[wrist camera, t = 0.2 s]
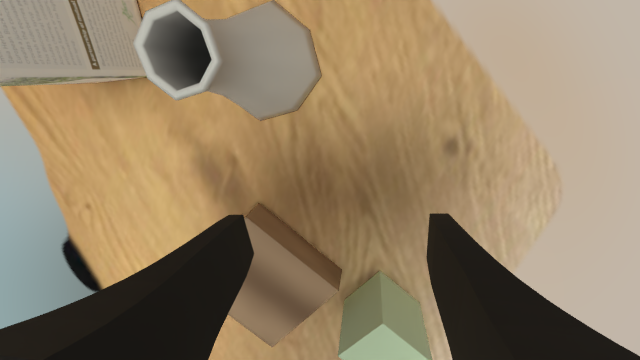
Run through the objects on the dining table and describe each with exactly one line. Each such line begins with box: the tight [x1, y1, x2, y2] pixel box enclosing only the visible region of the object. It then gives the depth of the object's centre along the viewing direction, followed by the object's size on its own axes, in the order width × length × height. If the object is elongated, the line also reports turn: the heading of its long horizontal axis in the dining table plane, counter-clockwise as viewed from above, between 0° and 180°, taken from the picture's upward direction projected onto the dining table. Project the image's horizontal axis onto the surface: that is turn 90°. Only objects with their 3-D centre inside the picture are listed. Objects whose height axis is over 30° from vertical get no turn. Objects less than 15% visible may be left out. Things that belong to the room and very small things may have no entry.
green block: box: [338, 271, 432, 360], centre depth 22 cm, size 4×4×6 cm
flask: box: [133, 0, 321, 121], centre depth 15 cm, size 7×7×10 cm
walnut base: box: [228, 203, 342, 347], centre depth 24 cm, size 9×9×3 cm
